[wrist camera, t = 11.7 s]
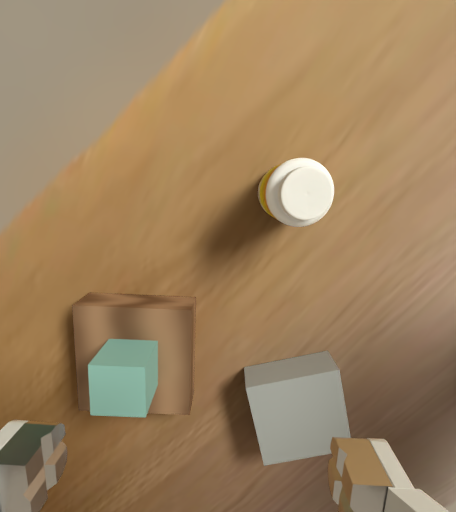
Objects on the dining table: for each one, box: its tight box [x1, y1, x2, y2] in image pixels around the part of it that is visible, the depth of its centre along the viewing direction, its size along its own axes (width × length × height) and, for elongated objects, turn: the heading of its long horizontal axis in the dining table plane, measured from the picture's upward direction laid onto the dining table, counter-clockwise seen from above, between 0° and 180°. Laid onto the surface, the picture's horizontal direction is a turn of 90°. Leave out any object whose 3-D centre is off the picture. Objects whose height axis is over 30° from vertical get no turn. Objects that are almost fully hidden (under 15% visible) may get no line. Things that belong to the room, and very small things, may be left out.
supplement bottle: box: [258, 158, 334, 227], centre depth 29 cm, size 6×6×10 cm
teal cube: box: [88, 339, 158, 417], centre depth 31 cm, size 5×5×5 cm
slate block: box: [244, 351, 351, 466], centre depth 36 cm, size 10×10×4 cm
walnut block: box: [72, 293, 196, 415], centre depth 35 cm, size 12×12×4 cm
